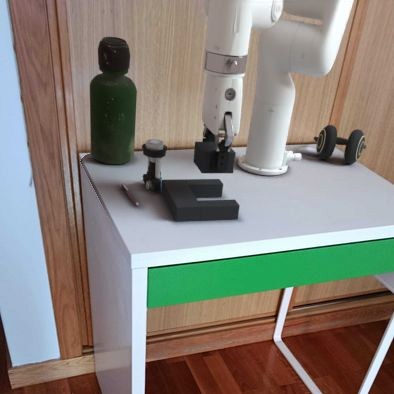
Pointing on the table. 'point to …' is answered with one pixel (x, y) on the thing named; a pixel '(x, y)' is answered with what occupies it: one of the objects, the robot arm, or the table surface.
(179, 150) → the table surface
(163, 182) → the black u-shaped block
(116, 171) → the table surface
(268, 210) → the table surface
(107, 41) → the green bottle
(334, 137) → the black dumbbell
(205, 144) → the small black block
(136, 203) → the pen
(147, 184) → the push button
